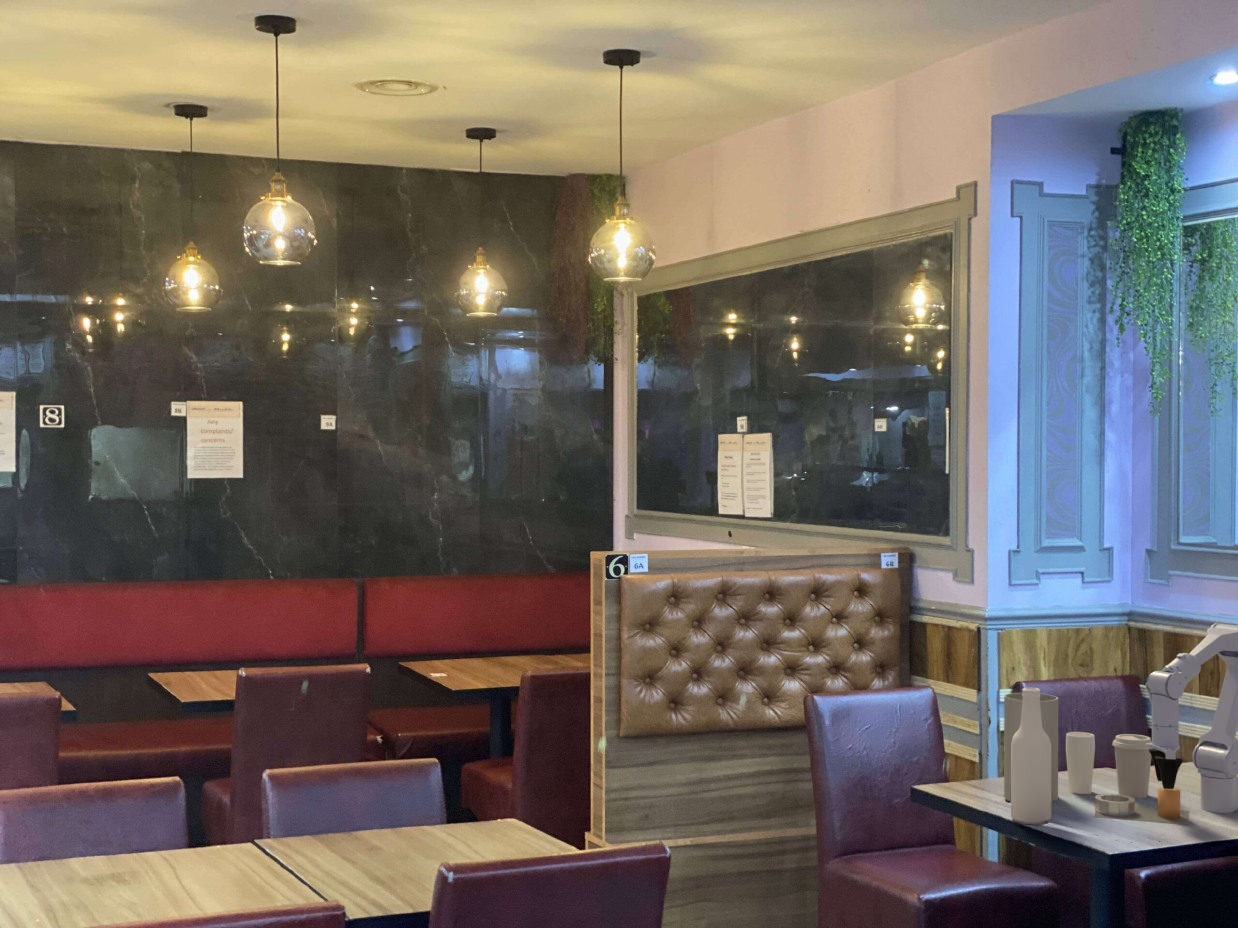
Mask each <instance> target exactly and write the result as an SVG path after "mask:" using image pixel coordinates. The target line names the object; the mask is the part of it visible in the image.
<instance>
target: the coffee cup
mask: <svg viewBox="0 0 1238 928" xmlns="http://www.w3.org/2000/svg"><path fill="white" fill-rule="evenodd" d="M1146 743H1152V737H1150V736H1148V735H1147V736H1146V735H1144V734H1143V735H1142V734H1134V733H1132V734H1131V733H1123V734H1117V735H1115V739H1113V741H1112V744H1111V745H1112V746H1114V757H1115V767H1116V768H1115V769H1116V780H1117V790H1118V791H1117V792H1118V795H1124V796H1129V797H1132V798H1134V799H1145V798H1147V797H1149V785H1150V774H1151V763H1152V756H1151V754H1150V752H1149V749H1154V748H1151V747H1147V746H1146Z"/></svg>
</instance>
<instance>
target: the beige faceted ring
mask: <svg viewBox="0 0 1238 928" xmlns="http://www.w3.org/2000/svg"><path fill="white" fill-rule="evenodd" d="M1135 806H1136V798H1132V797H1129V796H1124V795H1119V794H1116V793H1115V794H1114V793H1102V794H1097V795H1095V797H1094V811H1096V812H1098V813H1101V814H1105V815H1112V816H1130V815H1134V814H1135Z"/></svg>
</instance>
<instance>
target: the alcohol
mask: <svg viewBox="0 0 1238 928" xmlns="http://www.w3.org/2000/svg"><path fill="white" fill-rule="evenodd" d="M1021 691H1022V693H1023V694H1022V696H1023V701H1022V714H1021V725H1020V728H1019V730H1018V731H1017V732H1016V733H1015V734H1014V736H1013V739H1012V743H1011V802H1010V810H1011V811H1010V816H1011V818H1012V820H1013V821H1015V822H1016V823H1018V824H1023V825H1030V826H1031V825H1033V826H1034V825H1035V826H1036V825H1037V826H1039V825H1040V826H1041V825H1047V824H1048V823H1049V820H1051V819H1052V802H1051V742H1050V738H1049V737H1048V735H1047V734H1046V733H1045V732H1044V730H1043V727H1042V720H1041V708H1040V694H1041V689H1040V688H1038V687H1024V688H1022V690H1021Z"/></svg>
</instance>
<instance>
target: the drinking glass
mask: <svg viewBox="0 0 1238 928" xmlns="http://www.w3.org/2000/svg"><path fill="white" fill-rule="evenodd" d="M1095 739H1096V738H1095V734H1093V733H1090V732H1083V731H1069V732H1067V733H1066V734H1065V755H1066V756H1065V757H1066V767H1067V779H1068V792H1070V793H1072V794H1077V795H1090V794H1092V792H1093V789H1092V788H1093V776H1094V765H1095V764H1094V763H1095V762H1094V761H1095V752H1096V751H1095V750H1096V744H1095V743H1096V742H1095Z"/></svg>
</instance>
